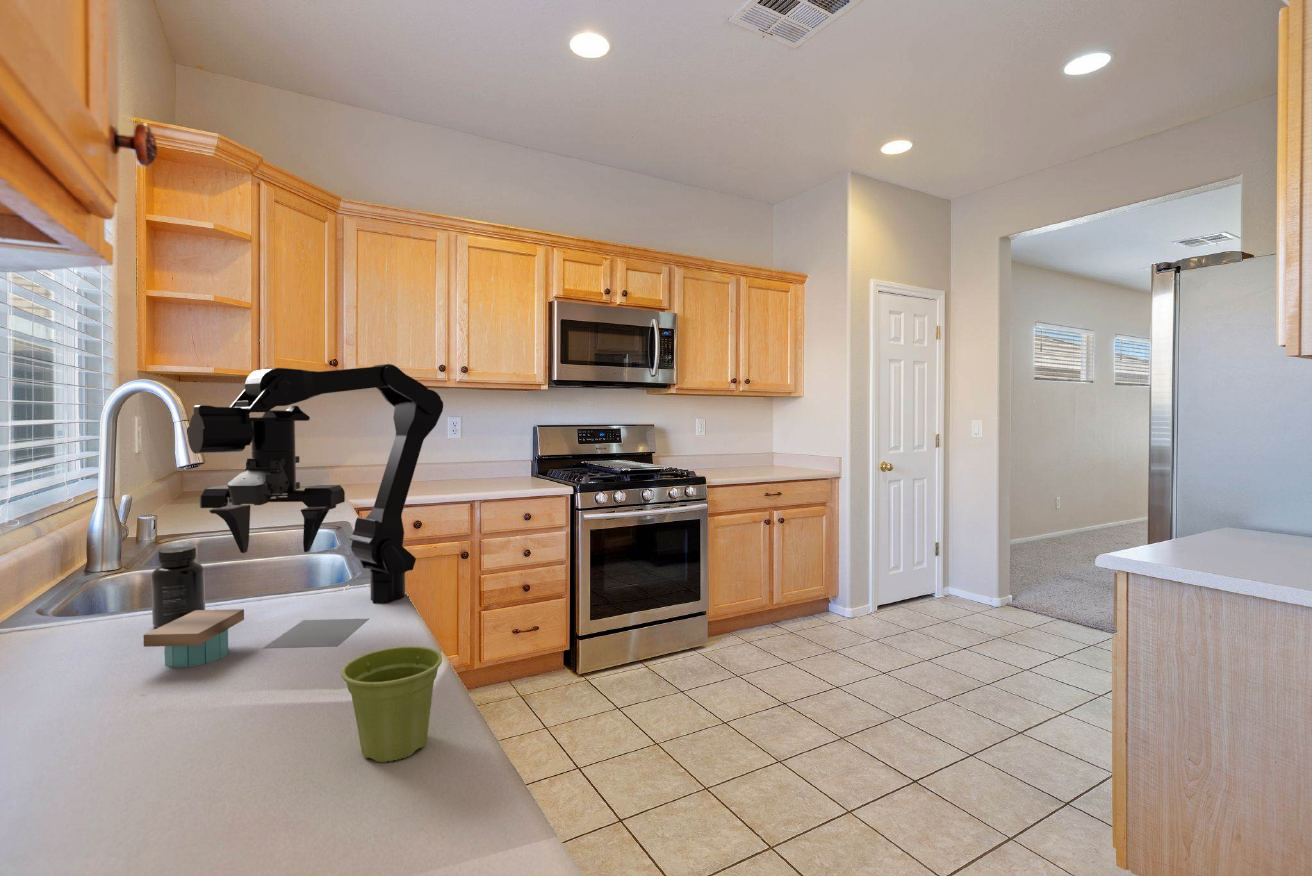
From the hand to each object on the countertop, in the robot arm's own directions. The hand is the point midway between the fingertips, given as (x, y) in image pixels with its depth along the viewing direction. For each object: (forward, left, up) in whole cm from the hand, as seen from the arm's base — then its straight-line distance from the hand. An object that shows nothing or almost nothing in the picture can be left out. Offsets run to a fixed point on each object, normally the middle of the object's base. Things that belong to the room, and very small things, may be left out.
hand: (275, 552), depth 96 cm
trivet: (+4, +8, -12) cm, 15 cm away
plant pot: (+36, +29, -13) cm, 48 cm away
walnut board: (+12, -4, -8) cm, 15 cm away
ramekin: (+12, -4, -12) cm, 18 cm away
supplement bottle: (-6, -18, -13) cm, 23 cm away
